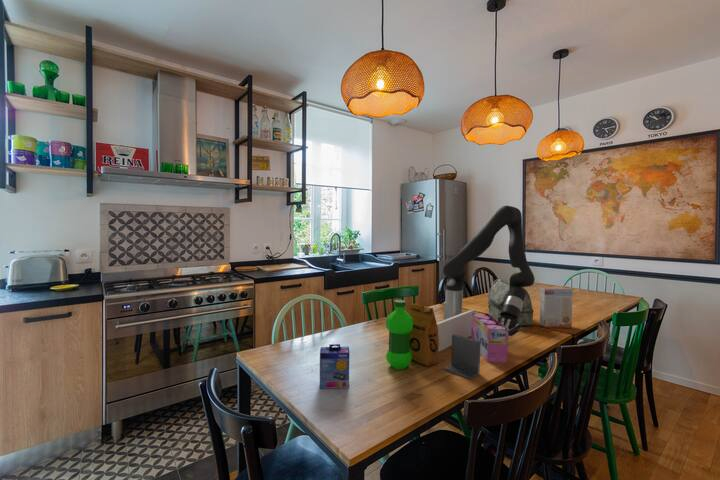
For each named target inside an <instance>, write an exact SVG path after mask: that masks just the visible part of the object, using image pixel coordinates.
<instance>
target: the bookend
mask: <svg viewBox="0 0 720 480" xmlns="http://www.w3.org/2000/svg"><path fill="white" fill-rule="evenodd" d="M450 361H451V362H450V363H451V364H449V365H447V366H445V367H444V370H443V371H446V372H449V373H451V374H454V375H457V376H460V377H463V378H465V379H469V380H470V379H471V380H473V379H474V378H476V377H477V376H478V375H480V371H481V369H480V368H481V365H480V363H481V353H480V341H478V340H474V339H471V337H470V338H469V337H467V338H466V337H463V336H459V335H455V334H453V335H452V345H451V359H450Z"/></svg>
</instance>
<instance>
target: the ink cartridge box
mask: <svg viewBox="0 0 720 480" xmlns="http://www.w3.org/2000/svg"><path fill="white" fill-rule="evenodd" d="M349 388H350V347H349V346H341V343H337V344H333V343H331V344H329V346H322V347H320V351H319V389H320V390H322V389H325V390H326V389H349Z"/></svg>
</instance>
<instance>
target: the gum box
mask: <svg viewBox="0 0 720 480" xmlns="http://www.w3.org/2000/svg"><path fill="white" fill-rule="evenodd" d="M470 339H474V340H478V341H480V356H482V357H483V359H484V360H485V361H486V362H487V363H496V364H497V363H508V353H509V352H508V351H509V350H508V349H509V348H508V347H509V336H508V329H507V327H505V326H504V325H502V324H501V323H500V322H498V321H497V320H496V319H495V318H493V317H492V316H491V315H489V312H488V313H487V312H485V313H484V314H481V313H478V314H477V313H476V314H475V315H474V313H472V330H471V336H470Z"/></svg>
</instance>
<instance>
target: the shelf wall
mask: <svg viewBox="0 0 720 480" xmlns="http://www.w3.org/2000/svg"><path fill="white" fill-rule="evenodd" d="M472 313H474V315H475V314H477V309H474V308H472V309H470V310H467V311H464V312H462V313H461V314H459V315H456V316H453V317H451V318H448V319H442V320H441V321H437V326H438V339H439V349H438V353H439V352H441V351H443V350H445V349H447V348H449V347H452V335H453V334H455V335H459V336H463V337H466V338H469V337H471V330H472Z"/></svg>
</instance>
